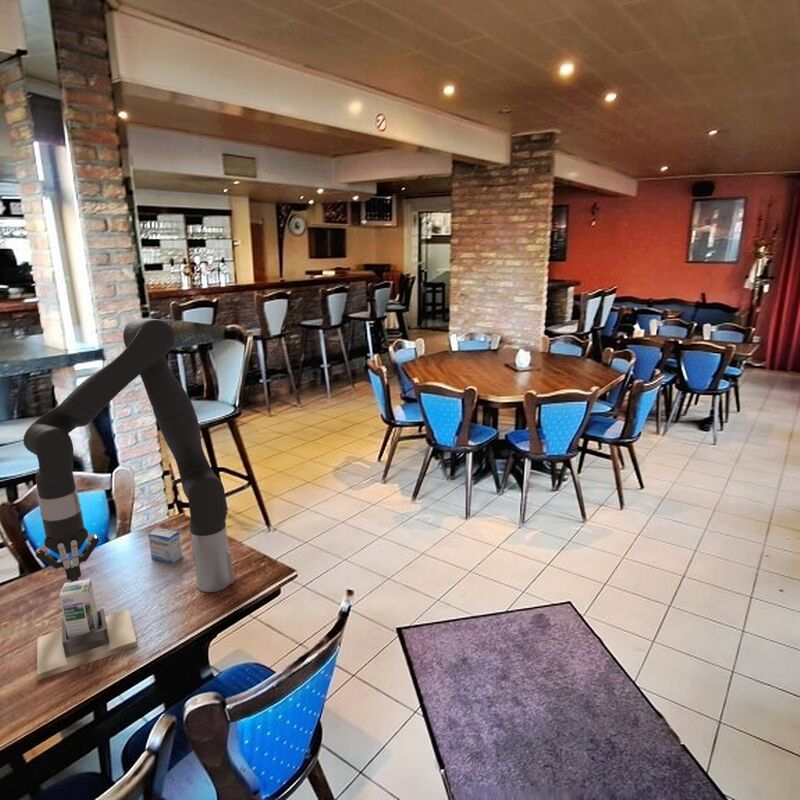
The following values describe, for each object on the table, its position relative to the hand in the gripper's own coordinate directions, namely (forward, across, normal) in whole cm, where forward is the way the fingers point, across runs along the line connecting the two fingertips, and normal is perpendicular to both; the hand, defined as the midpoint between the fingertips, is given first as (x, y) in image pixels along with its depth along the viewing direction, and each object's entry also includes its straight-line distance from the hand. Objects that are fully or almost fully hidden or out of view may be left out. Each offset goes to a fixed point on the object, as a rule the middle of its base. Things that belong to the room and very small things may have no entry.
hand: (74, 579), depth 129 cm
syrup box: (+16, 0, 0) cm, 17 cm away
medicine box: (+18, -23, -30) cm, 42 cm away
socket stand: (+18, 0, 0) cm, 18 cm away
